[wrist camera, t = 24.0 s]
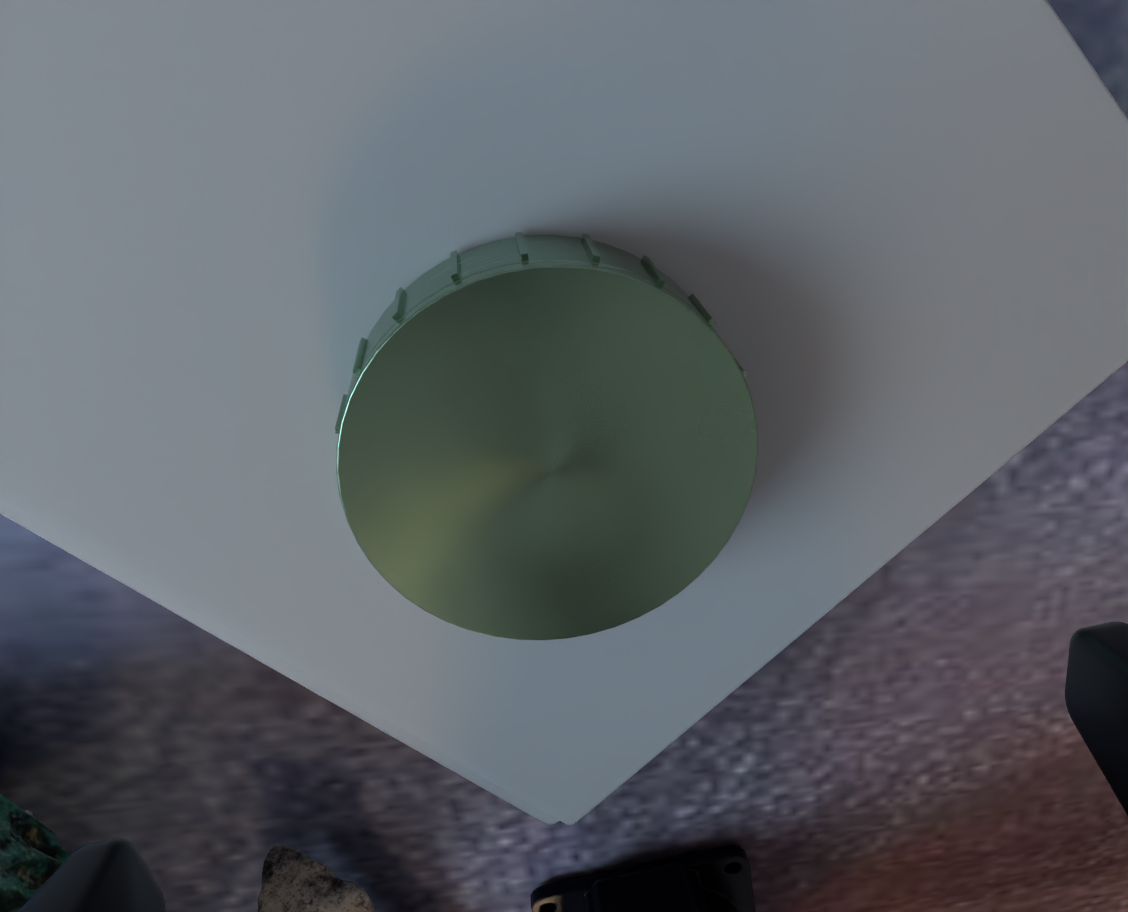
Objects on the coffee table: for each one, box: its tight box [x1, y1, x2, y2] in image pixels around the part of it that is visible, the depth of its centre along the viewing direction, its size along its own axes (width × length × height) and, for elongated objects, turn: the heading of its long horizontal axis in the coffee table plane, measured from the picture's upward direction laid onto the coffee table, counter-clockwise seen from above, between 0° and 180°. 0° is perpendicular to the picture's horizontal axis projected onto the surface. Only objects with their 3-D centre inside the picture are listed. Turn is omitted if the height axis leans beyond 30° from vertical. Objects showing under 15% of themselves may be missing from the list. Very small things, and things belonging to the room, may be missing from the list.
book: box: [0, 0, 1128, 825], centre depth 16 cm, size 18×4×24 cm
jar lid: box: [334, 232, 758, 640], centre depth 15 cm, size 7×7×2 cm
